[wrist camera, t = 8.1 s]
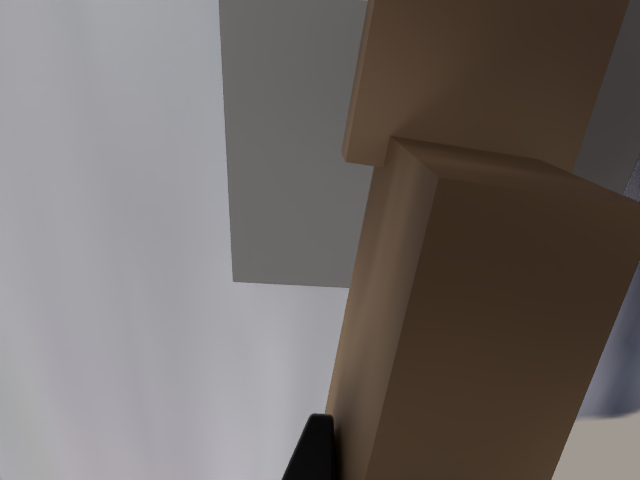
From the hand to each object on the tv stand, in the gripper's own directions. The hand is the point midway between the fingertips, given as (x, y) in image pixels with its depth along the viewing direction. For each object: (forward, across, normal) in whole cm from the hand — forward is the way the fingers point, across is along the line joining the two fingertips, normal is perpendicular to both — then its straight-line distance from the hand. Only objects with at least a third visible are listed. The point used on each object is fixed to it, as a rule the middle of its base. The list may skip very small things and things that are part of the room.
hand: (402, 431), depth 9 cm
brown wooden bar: (+1, 0, 0) cm, 1 cm away
